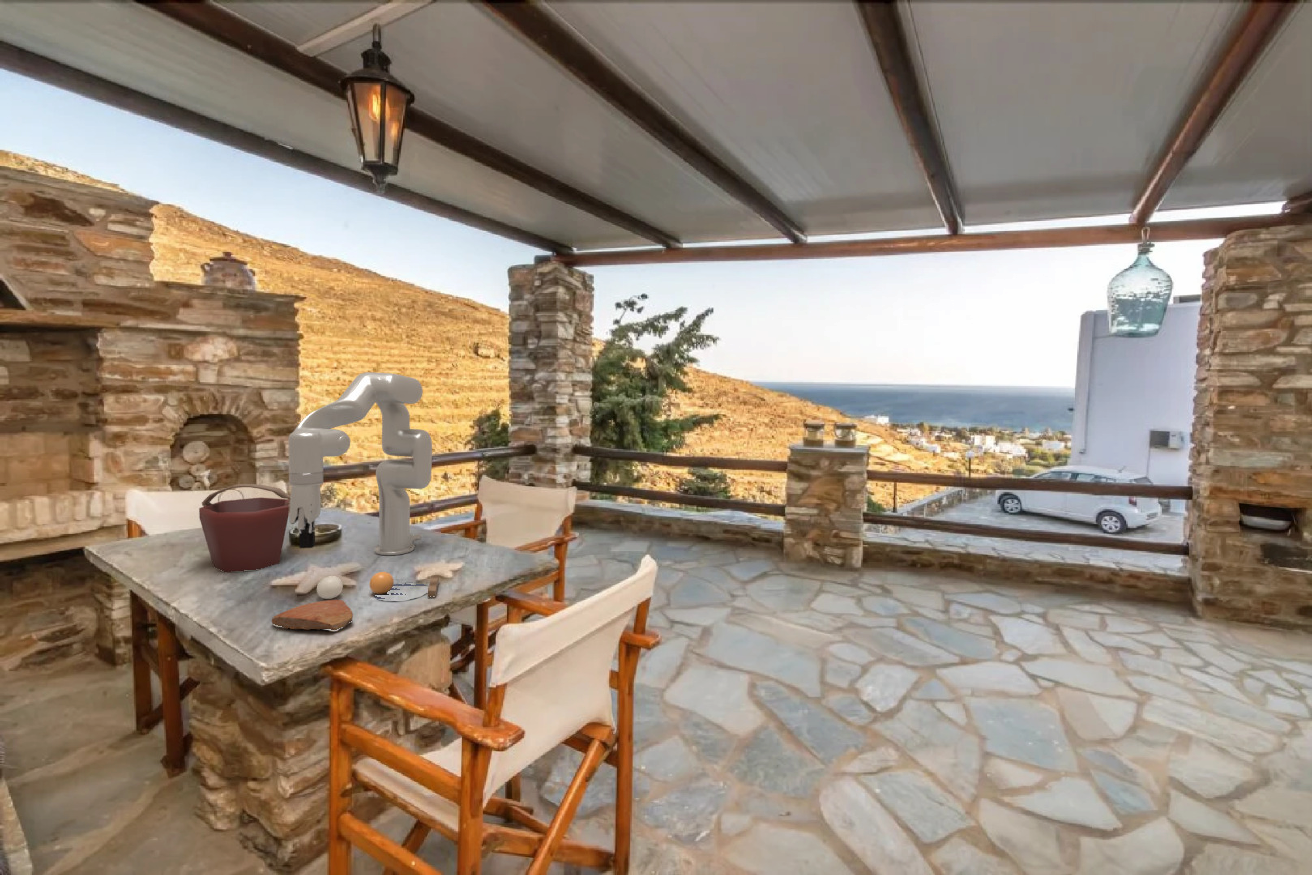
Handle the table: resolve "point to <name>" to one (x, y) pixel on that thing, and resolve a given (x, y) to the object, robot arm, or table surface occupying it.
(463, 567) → the table surface
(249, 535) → the bucket
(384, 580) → the object ball
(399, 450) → the robot arm
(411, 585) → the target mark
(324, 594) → the cue ball
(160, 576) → the table surface
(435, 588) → the stopper rail
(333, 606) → the ceramic shard
